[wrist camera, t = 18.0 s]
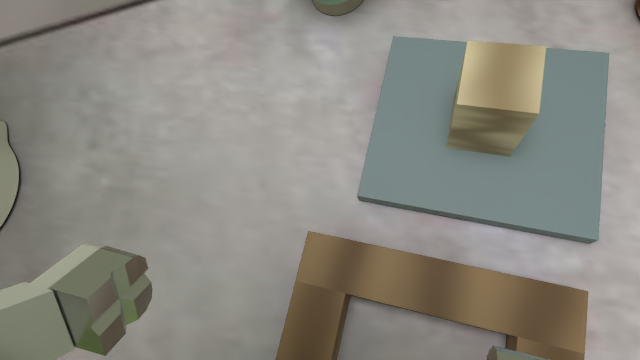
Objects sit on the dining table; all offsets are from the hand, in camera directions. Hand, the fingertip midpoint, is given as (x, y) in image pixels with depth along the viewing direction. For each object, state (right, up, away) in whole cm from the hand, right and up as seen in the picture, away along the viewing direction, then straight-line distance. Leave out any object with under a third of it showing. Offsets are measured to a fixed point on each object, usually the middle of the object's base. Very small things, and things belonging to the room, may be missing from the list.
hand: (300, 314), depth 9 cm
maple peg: (+14, +8, +24) cm, 29 cm away
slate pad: (+14, +7, +26) cm, 30 cm away
